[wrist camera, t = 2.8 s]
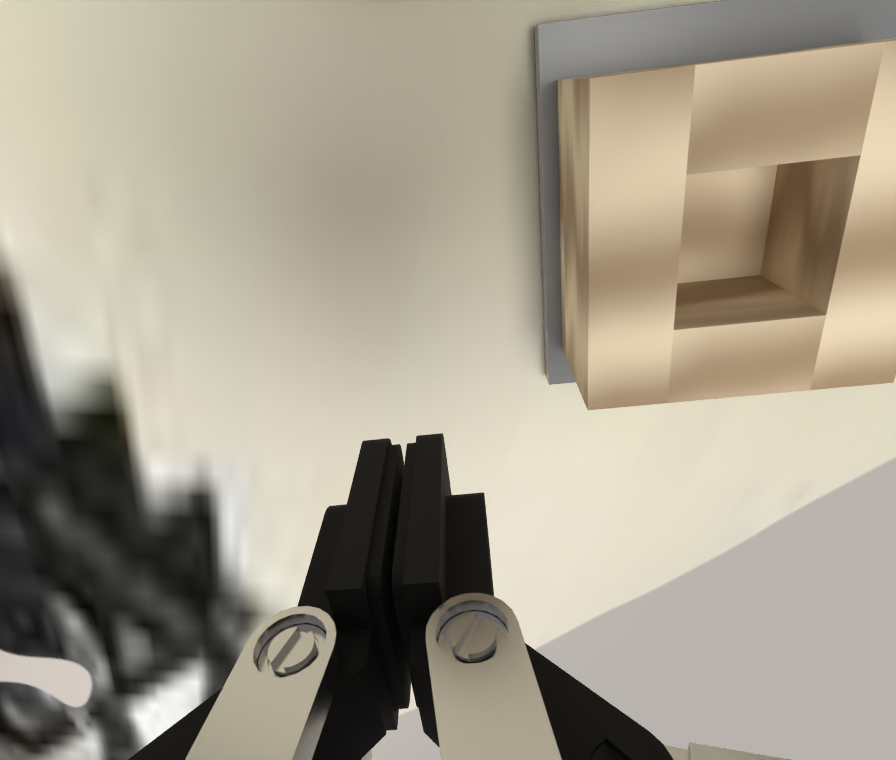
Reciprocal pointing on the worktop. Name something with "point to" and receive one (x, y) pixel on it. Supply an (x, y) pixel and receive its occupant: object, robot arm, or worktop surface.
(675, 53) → the rail board
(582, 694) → the robot arm
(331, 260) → the worktop surface
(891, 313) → the socket block
